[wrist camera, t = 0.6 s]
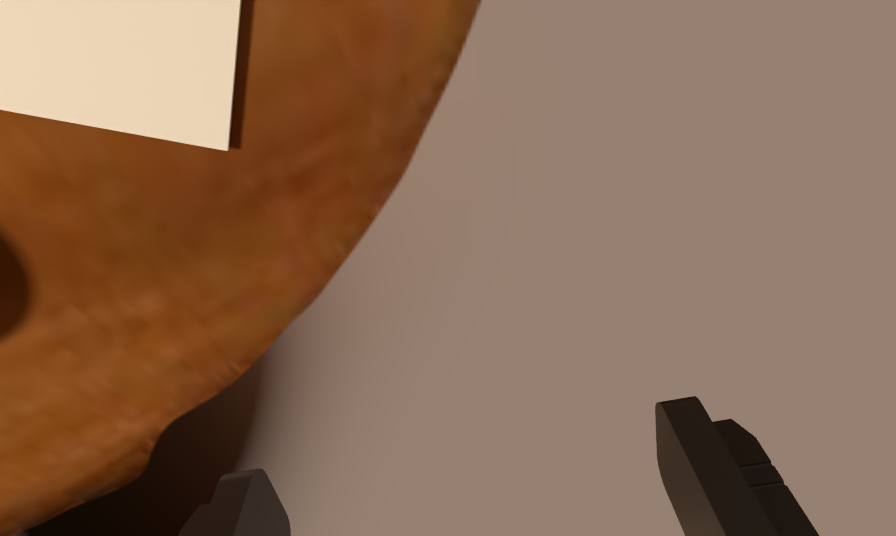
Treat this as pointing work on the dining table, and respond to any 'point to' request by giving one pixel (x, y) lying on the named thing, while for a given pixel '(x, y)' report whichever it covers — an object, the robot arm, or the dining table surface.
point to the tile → (124, 65)
